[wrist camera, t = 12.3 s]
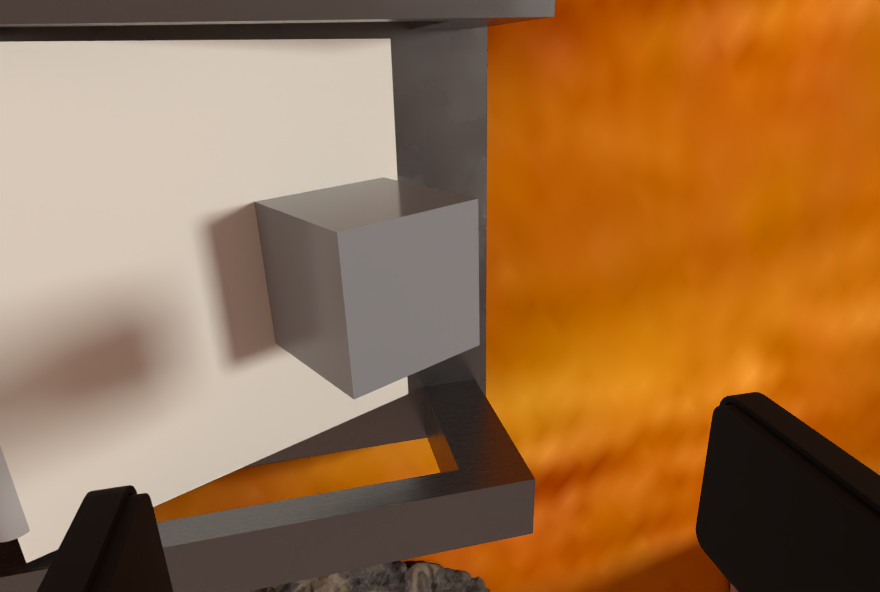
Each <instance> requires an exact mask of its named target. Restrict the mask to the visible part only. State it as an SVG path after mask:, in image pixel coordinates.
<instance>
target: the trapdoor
mask: <svg viewBox="0 0 880 592" xmlns="http://www.w3.org/2000/svg"><path fill="white" fill-rule="evenodd" d="M383 177H384V178H389V179H393V180H398V179H397V159H396V139H395V119H394V100H393V80H392V60H391V40H390V39H273V40H149V41H24V42H0V542H8V541H11V540H14V539H18V541H19V544H20V547H21V550H22V552H23V555H24V558H25V561H26V563H28V562H30V561H33V560H35V559H37V558H39V557H42V556H44V555H46V554H48V553H51V552H53V551H55V550H58V549H59V547H60V545H61V543H62V541H63V539H64V537H65V535H66V533H67V531H68V529H69V527H70V525H71V523H72V521H73V519H74V517H75V515H76V513H77V511H78V509H79V507H80V505H81V503H82V501H83V499H84V497H85V496H86V494H87V493H88V492H90V491H94V490H101V489H107V488H114V487H121V486H128V485H132V486H134V488H135V489H136V491H137V494H142V493H148V494H149V496H150V498H151V501H152V505H153V507H154V506H157V505H159V504H161V503H163V502H166V501H168V500H170V499H172V498H175V497H177V496H179V495H181V494H184V493H186V492H188V491H190V490H193V489H195V488H197V487H199V486H202V485H204V484H206V483H208V482H211V481H213V480H215V479H218V478H220V477H222V476H224V475H227V474H229V473H231V472H233V471H236V470H238V469H240V468H242V467H245V466H247V465H249V464H251V463H254V462H256V461H258V460H260V459H263V458H265V457H267V456H269V455H272V454H274V453H276V452H278V451H281V450H283V449H285V448H287V447H290V446H292V445H294V444H296V443H299V442H301V441H303V440H305V439H308V438H310V437H312V436H314V435H317V434H319V433H321V432H323V431H326V430H328V429H330V428H332V427H335V426H337V425H339V424H341V423H344V422H346V421H348V420H350V419H353V418H355V417H357V416H359V415H362V414H364V413H366V412H368V411H371V410H373V409H375V408H378V407H380V406H382V405H384V404H387V403H389V402H391V401H393V400H396V399H398V398H400V397H402V396H405V395H407V394H408V378H407V377H405V378H402V379H400V380H398V381H396V382H393V383H391V384H389V385H386V386H384V387H382V388H380V389H377V390H375V391H373V392H370V393H368V394H366V395H363V396H361V397H359V398H357V399H352V398H351V397H350V396H348V395H347V394H345V393H344V392H343V391H341V390H340V389H339V388H337V387H336V386H334V385H333V384H332V383H330V382H329V381H327V380H326V379H325V378H323V377H322V376H320V375H319V374H318V373H316V372H315V371H314V370H312V369H311V368H309V367H308V366H307V365H305V364H304V363H302V362H301V361H300V360H298V359H297V358H295V357H294V356H293V355H291V354H290V353H289V352H287V351H286V350H284V349H283V348H282V347H280V346H279V345H277V344H276V342H275V335H274V329H273V322H272V316H271V309H270V303H269V296H268V290H267V283H266V276H265V270H264V263H263V257H262V250H261V244H260V237H259V230H258V224H257V217H256V211H255V204H254V202H255V201H260V200H266V199H271V198H276V197H282V196H287V195H292V194H298V193H303V192H308V191H314V190H319V189H324V188H330V187H335V186H340V185H345V184H351V183H356V182H361V181H367V180H372V179H377V178H383Z"/></svg>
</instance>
